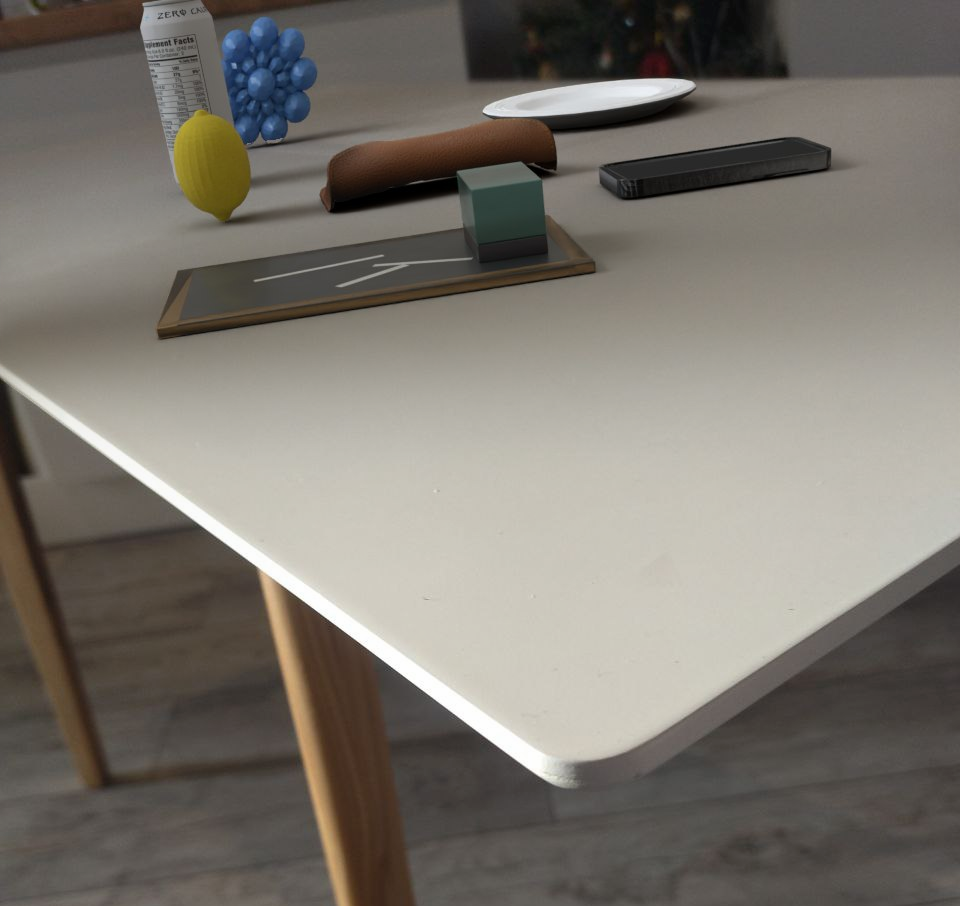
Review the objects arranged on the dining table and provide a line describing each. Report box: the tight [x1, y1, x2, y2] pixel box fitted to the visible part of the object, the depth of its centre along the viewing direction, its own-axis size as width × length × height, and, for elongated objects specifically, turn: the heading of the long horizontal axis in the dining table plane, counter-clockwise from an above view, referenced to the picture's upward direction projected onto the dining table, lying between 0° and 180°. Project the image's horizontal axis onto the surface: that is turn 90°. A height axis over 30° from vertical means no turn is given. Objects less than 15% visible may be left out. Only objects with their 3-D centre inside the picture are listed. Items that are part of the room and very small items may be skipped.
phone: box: [598, 136, 832, 198], centre depth 86 cm, size 8×1×15 cm
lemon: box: [174, 109, 252, 222], centre depth 92 cm, size 6×6×8 cm
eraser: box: [456, 162, 548, 263], centre depth 71 cm, size 7×4×4 cm, turn 8°
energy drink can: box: [139, 0, 235, 186], centre depth 105 cm, size 6×6×15 cm
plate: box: [482, 77, 697, 130], centre depth 119 cm, size 21×21×2 cm
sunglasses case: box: [319, 118, 558, 213], centre depth 95 cm, size 18×7×7 cm
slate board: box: [155, 214, 597, 340], centre depth 72 cm, size 24×14×1 cm, turn 98°
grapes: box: [221, 16, 318, 144], centre depth 127 cm, size 12×7×12 cm, turn 95°
